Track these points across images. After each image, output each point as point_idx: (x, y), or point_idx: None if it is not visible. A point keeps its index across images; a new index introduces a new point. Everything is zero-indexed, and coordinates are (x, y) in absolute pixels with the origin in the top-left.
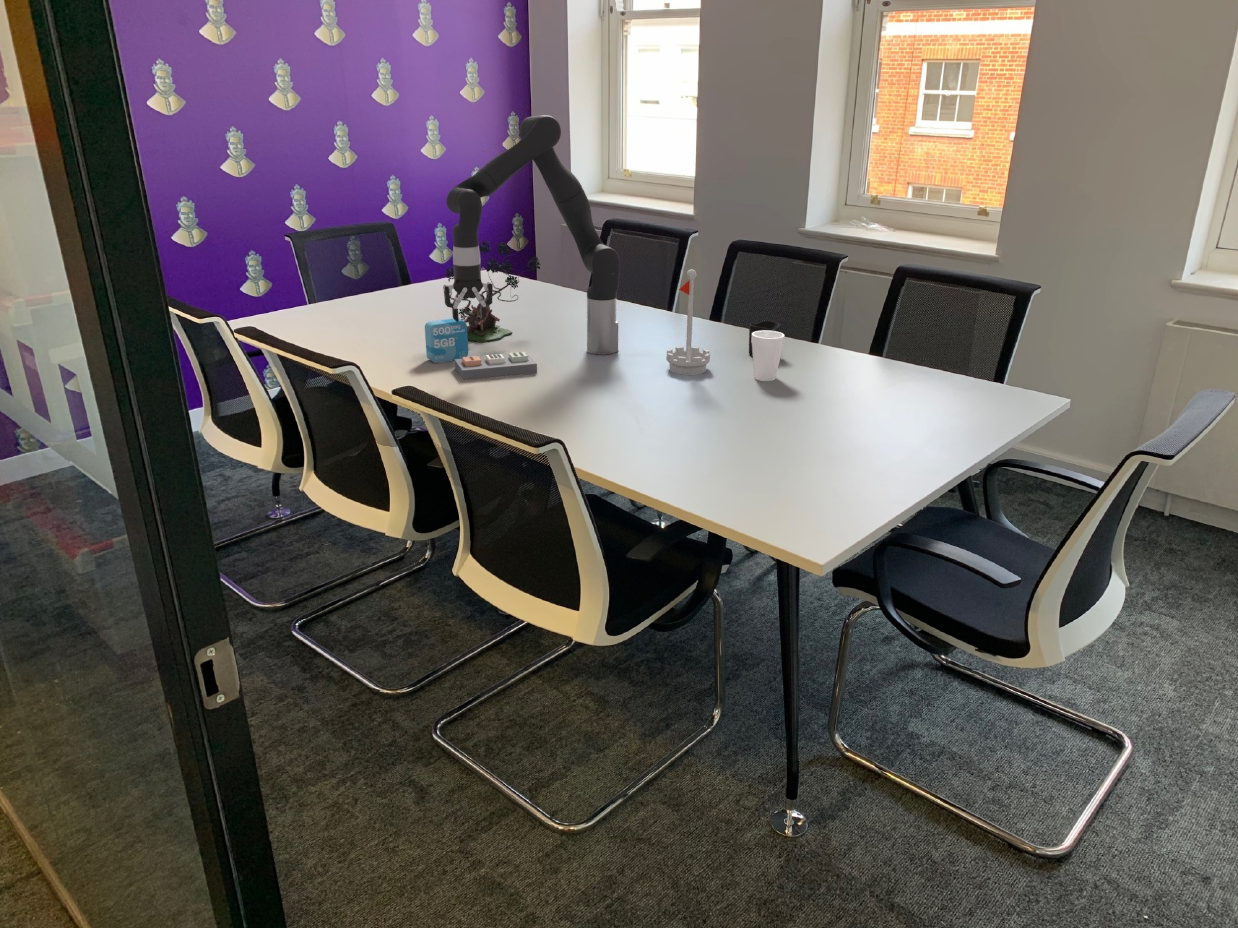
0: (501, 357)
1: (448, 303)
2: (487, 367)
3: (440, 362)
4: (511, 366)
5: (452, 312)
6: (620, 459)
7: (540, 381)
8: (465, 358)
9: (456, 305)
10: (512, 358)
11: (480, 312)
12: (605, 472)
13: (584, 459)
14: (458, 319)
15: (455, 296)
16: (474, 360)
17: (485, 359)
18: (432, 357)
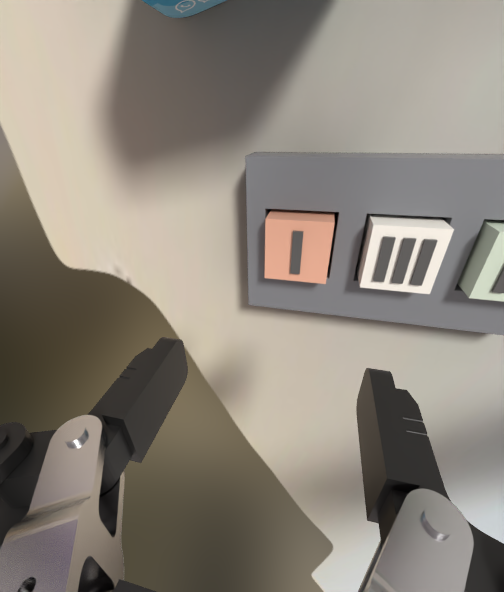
0: (420, 284)
1: (18, 510)
2: (334, 308)
3: (210, 6)
4: (422, 325)
5: (112, 392)
6: (356, 582)
7: (463, 377)
8: (273, 241)
9: (105, 502)
10: (468, 290)
11: (372, 421)
12: (325, 583)
13: (321, 567)
14: (180, 388)
15: (5, 566)
16: (299, 279)
17: (372, 208)
18: (162, 12)
